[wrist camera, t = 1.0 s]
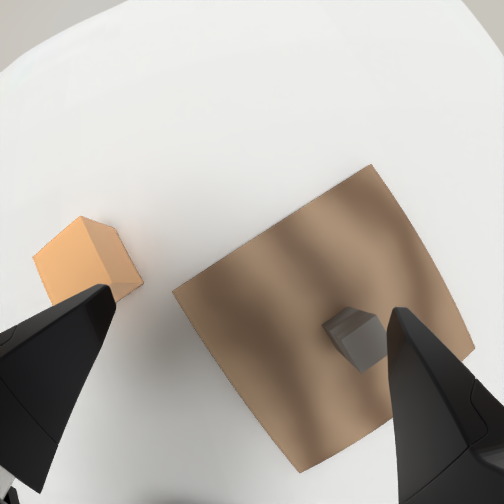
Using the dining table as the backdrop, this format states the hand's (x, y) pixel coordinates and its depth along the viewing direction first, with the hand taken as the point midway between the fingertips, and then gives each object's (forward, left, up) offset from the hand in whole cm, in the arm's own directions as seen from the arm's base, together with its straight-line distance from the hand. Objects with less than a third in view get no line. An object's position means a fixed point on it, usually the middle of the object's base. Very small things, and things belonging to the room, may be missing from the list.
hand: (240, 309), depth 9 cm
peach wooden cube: (-11, +9, -17) cm, 22 cm away
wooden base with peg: (+4, -6, -17) cm, 19 cm away
